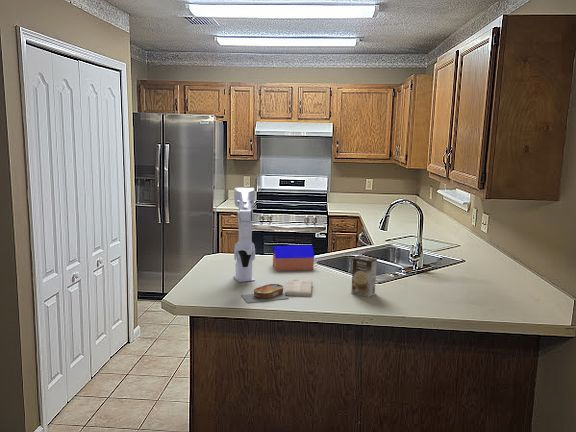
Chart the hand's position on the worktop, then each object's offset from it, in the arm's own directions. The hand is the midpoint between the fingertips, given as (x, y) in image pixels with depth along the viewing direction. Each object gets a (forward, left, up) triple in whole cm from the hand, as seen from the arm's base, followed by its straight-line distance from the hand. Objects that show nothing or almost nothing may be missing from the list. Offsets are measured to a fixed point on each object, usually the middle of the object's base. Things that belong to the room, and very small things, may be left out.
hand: (245, 266), depth 227 cm
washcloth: (+8, +23, -11) cm, 27 cm away
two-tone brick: (-28, +34, -11) cm, 46 cm away
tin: (+7, +5, -9) cm, 13 cm away
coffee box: (+21, +48, -11) cm, 53 cm away
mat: (+13, +5, -10) cm, 17 cm away
